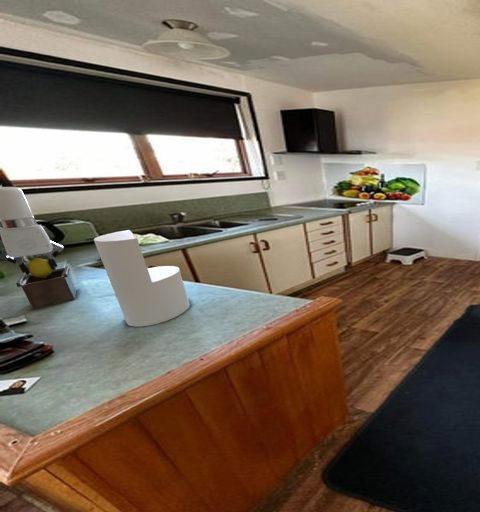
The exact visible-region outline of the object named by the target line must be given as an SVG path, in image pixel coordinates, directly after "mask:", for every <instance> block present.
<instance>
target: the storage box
mask: <svg viewBox="0 0 480 512" xmlns="http://www.w3.org/2000/svg"><path fill="white" fill-rule="evenodd" d="M69 273H70V267H69V265H68V266H67V265H66V267H65V270H61V271H56V272H52V273H51V274H50V275H48V276H47V277H46V278H42V277H36V276H30V277H26V273H24V274H21V276H20V277H19V278H18V279H17V281H16V282H15V285H16V287H17V288H21V289H22V290H23V292H24V294H25V296H26V299H27V300H28V302H29V304H30V306H31V308H32V310H33V311H35V310H39V309H43V308H47V307H51V306H55V305H59V304H62V303H68V302H71V301H75V300H76V294H77V289H76V288H75V285H74V283H73V280H72V278H71V276H70V274H69Z"/></svg>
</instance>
